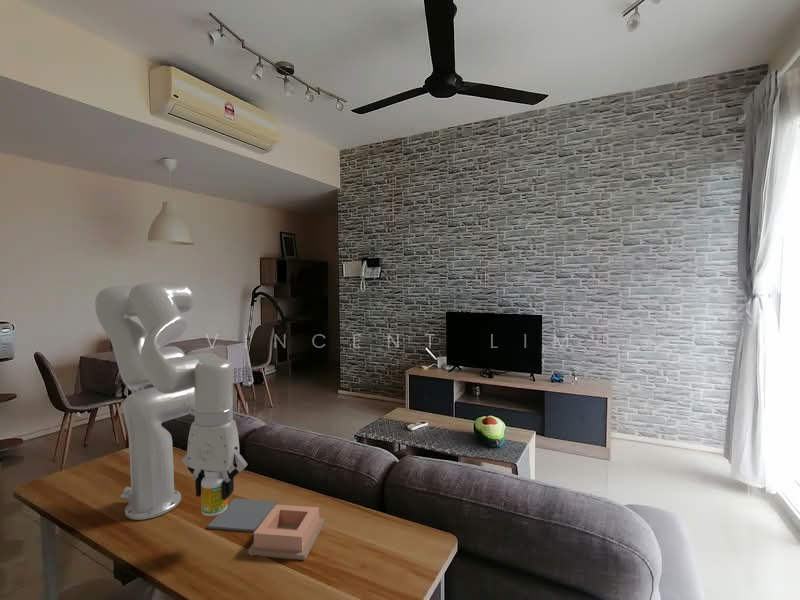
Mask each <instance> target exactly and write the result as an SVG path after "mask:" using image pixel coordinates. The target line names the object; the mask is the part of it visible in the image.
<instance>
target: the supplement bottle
mask: <svg viewBox="0 0 800 600" xmlns="http://www.w3.org/2000/svg"><path fill="white" fill-rule="evenodd" d="M204 475H205V477H204V478H203V479H202V481H201V496H200V498H201V499H200V500H201V502H200V505H201V508H200V509H201V510H200V511H201V513H202V514H203V516H207V517H213V516H218V515H219V514H220V513H222V512H224V511H225V510H226V509H227V506H228V505H229V502H228V501H229V499H228V498H227V499H226V500H223V499H222V482H223V481H224V478H223V475H222V472H217V471H207V470H204Z"/></svg>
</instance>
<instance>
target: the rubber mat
mask: <svg viewBox="0 0 800 600" xmlns="http://www.w3.org/2000/svg"><path fill="white" fill-rule="evenodd" d="M275 505H278V503H277V500H268V499H267V500H265V499H249V498H233V500H232V501H230V503H228V506H227V509H226V510H225V511H224V512H222V513H220V514H218V515H216V517H214V519H212V521H211V522H209V523H208V525H207V526H206V528H207V529H210V530H211V529H212V530H224V531H225V530H226V531H237V532H248V533H249V532H250V533H254V532H255V531H256V530H257V528H258V527H259V526H260V524H261V523H262V522H263V521H264V519H265V518H266V517H267V516H268V514H269V513H270V512H271V510H272V509H273V508H274V507H275Z"/></svg>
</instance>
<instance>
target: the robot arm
mask: <svg viewBox="0 0 800 600" xmlns="http://www.w3.org/2000/svg"><path fill="white" fill-rule="evenodd" d="M94 301H95V302H94V304H95V305H94V306H95V312H96V316H97V320H98V322H99V324H100V326H101V327H102V329H103V330H104V333H106V335H107V336H108V338H109V340H110V342H111V346H112V349H113V350H112V351H113V353H114V356H115V360H116V363H117V367H118V371H119V374H120V377H121V380H122V382H123V383H124V384H125V386H128V387H141V386H146V385H152V387H147V388H143V389H139V390H137V391H134V392H132V393H131V394H129V395H127V397H126V398H125V400H124V401H123V404H122V413H123V417H124V421H125V425H126V428H127V429H126V430H127V434H128V445H129V450H128V451H129V462H130V463H129V466H130V467H129V468H130V485H131V486H130V487H129V486H126V487H125V488H124V490H123V493H122V494H121V495H120V499H121V500H128V501H127V502H128V504H127V505H126V507H125V509H124V514H125V517H126V518H127V519H130V520H136V521H140V520H141V521H142V520H149V519H153V518H156V517H160V516H162V515H164V514H166V513H169V512H170V511H171V510H173V509H175V508H176V507H177V506H179V504H180V503H181V501H182V493H181V492H180V491H179V490H175V478H174V477H175V474H174V450H173V447H174V446H173V438H172V434H171V433H170V432H169V431H168V430H167V429H166V428H165V427H164V426H162V423H164V422H167V421H170V420H173V419H177V418H180V417H184V416H186V415H189V414H190V415H191V416H194V421H192V423H191V425H190V429H189V432H188V437H187V447H186V448H187V450H186V454H185V455H184V457H183V458H182V459H181V462H182V463H183V464H184V466H185V467H187V470H188V471H189V472H190V473H191V474H192V478H193V479H194V480H195V488H194V489H195V496H196V497H198V498H199V497H201V481H202V479H203V478H204V477H205V475H204V470H207V471H217V472H222V475H223V478H224V481H223V482H222V499H223V500H226V499H227V498H228V497H230V496H231V495H232V494H233V492H234V489H235V487H234V483H235V482H234V478H235V477H236V476H237V475H238V474H239V473H241V472H242V471H243V470H244V469H246V467H247V466H248V463H247V461H246V460H245V459H244V457H243V456H242V455H241V454H240V441H239V432H238V427H237V422H236V420H235V419H234V414H233V413H234V410H233V409H234V407H233V406H234V404H233V402H234V395H233V393H234V391H233V390H234V389H233V388H234V386H233V385H234V382H233V381H234V378H233V377H234V376H233V375H234V373H233V371H234V369H233V368H234V367H233V363H232V362H231V361H230V360H228V359H225V358H220V357H219V356H217V355H216V354H214V353H211V352H201V353H195V354H187V355H186V353H185V352H184V351H183V349H181V348H180V347H177V346H173V345H170V346H167V345H169V344H171V343H173V342H174V341H176V340H177V339H178V338H180V337H181V336H182V335H183V334H184V332H185V331H186V330H187V327H188V323H187V320H186V318H185V317H184V315H183V314H184V313H188V312H189V311H190V310H191V309H192V308H193V306H194V303H195V297H194V293H193V291H192V289H191V288H190V286H189V285H187V284H186V283H184V282H181V281H147V282H142V283H139V284H137V285H116V286H114V285H113V286H110V287H106V288H103V289H102V290H100V291H99V292H98V293H97V295H96V296H95V300H94ZM131 317H137V319H139V321H140V323H141V325H140V324H139V323H138V322H136V321H134V320H133V319H132V318H131ZM234 464H236V466H237V467H235V465H234Z"/></svg>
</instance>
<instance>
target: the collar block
mask: <svg viewBox="0 0 800 600" xmlns="http://www.w3.org/2000/svg"><path fill="white" fill-rule="evenodd" d="M325 523H326V520H325V518H323V517H320V507H318V506H316V507H315V506H303V505H301V506H300V505H290V504H289V505H286V504H276V505H275V506H274V507H273V509H272V510H271V511H270V513H269V514H268V515H267V516H266V518H265V519H264V520H263V521H262V523H261V524H260V525H259V526H258V528H257V529H256V530H255V532H253V543H252V544H251V545H250V547H249V548H248V549H247V555H248V554H252V555H251V556H253V555H259V556H258V557H266V558H267V557H269V558H277V559H278V558H279V559H289V560H300V561H305V560H306V559H307V557H308V555H309V553H310V551H311V550H312V547H313V545H314V544H315V541H316V540H317V538H318V537H319V535H320V532H321V531H322V529H323V527H324V525H325Z"/></svg>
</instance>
